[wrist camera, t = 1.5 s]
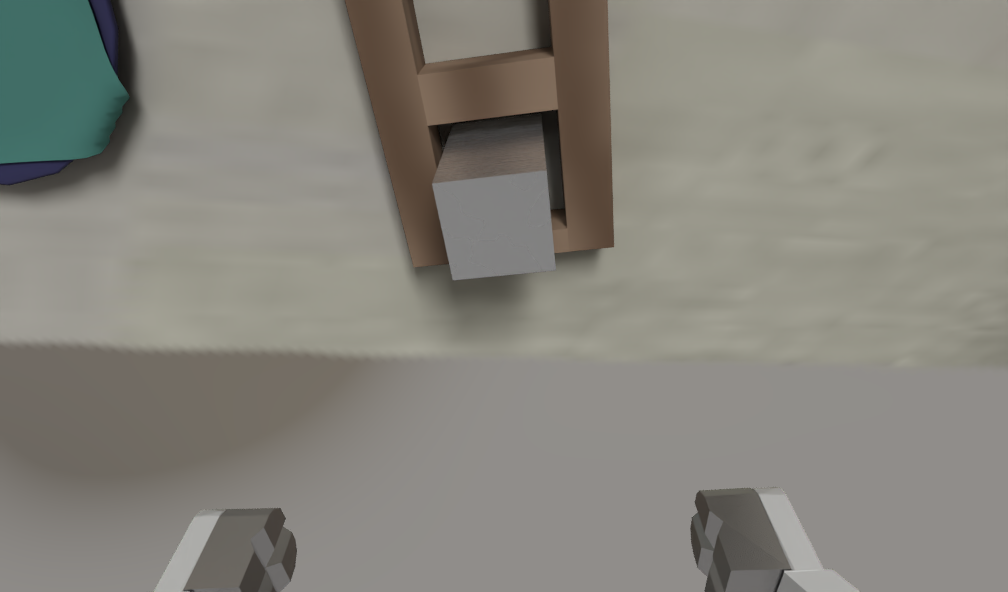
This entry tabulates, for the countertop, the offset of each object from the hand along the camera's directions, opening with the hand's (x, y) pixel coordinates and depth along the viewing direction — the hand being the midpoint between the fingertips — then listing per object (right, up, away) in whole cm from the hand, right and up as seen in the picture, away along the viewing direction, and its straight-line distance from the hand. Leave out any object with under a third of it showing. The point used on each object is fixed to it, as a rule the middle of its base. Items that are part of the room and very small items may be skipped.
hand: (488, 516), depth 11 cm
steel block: (0, +12, +19) cm, 22 cm away
